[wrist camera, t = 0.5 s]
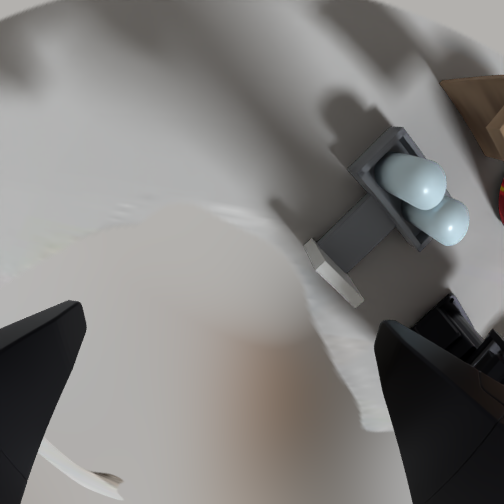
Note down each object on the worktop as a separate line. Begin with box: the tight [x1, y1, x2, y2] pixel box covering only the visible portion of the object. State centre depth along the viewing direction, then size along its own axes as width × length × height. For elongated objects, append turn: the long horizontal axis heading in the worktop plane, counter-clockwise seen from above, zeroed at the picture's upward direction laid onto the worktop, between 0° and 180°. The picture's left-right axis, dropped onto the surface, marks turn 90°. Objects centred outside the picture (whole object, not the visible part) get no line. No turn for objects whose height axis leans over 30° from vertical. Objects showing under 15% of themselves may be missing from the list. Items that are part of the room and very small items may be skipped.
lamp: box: [304, 127, 452, 309], centre depth 20 cm, size 8×10×4 cm
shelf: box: [439, 75, 504, 162], centre depth 14 cm, size 7×5×10 cm
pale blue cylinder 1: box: [374, 152, 447, 210], centre depth 17 cm, size 3×3×4 cm
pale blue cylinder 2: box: [401, 195, 469, 246], centre depth 18 cm, size 3×3×4 cm
